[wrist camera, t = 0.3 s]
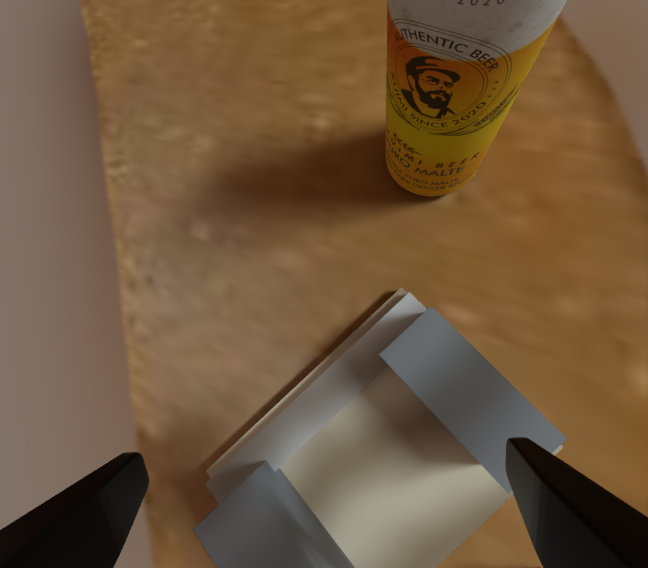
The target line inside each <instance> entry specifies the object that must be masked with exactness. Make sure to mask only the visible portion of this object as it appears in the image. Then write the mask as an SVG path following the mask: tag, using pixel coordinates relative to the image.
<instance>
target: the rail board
mask: <svg viewBox="0 0 648 568" xmlns="http://www.w3.org/2000/svg"><path fill="white" fill-rule="evenodd" d="M513 437H526V438H529V439H530V440H532V441H533V442H535V443H536V444H538V445H539V446H541V447H542V448H544V449H545V450H547V451H548V452H550V453H551V454H553V455H554V456H555V455H556V454H557V453H558V452H559V451H560V450H561V449H562V448H563V446H562V445H561V444H562V443H563V442H564V441H565V440H566V439H567V438H566V437H565V436H564V435H563V434H562V433H561V432H560V431H559V430H558V429H557V428H556V427H555V426H554V425H553V424H551V423H550V422H549V421H548V420H547V419H546V418H545V417H544V416H543V415H542V414H541V413H540V412H539V411H538V410H537V409H536V408H535V407H534V406H533V405H532V404H531V403H530V402H529V401H528V400H527V399H526V398H525V397H524V396H523V395H522V394H521V393H520V392H519V391H518V390H517V389H516V388H515V387H514V386H513V385H512V384H511V383H510V382H509V381H508V380H507V379H505V378H504V377H503V376H502V375H501V374H500V373H499V372H498V371H497V370H496V369H495V368H494V367H493V366H492V365H491V364H490V363H489V362H488V361H487V360H486V359H485V358H484V357H483V356H482V355H481V354H480V353H479V352H478V351H477V350H476V349H475V348H474V347H473V346H472V345H471V344H470V343H469V342H468V341H467V340H466V339H465V338H464V337H463V336H462V335H461V334H459V333H458V332H457V331H456V330H455V329H454V328H453V327H452V326H451V325H450V324H449V323H448V322H447V321H446V320H445V319H444V318H443V317H442V316H441V315H440V314H439V313H438V312H437V311H436V310H435V309H434V308H433V307H432V306H430V307H429V308H428V309H426V308H425V307H424V306H423V305H422V304H421V303H420V302H419V301H418V300H417V299H416V298H415V297H414V296H413V295H412V294H411V293H410V292H409V293H407V292H406V291H405V290H404V289H403V288H402V287H401V288H400V289H399V290H398V291H397V292H396V293H395V294H394V295H393V296H392V297H390V298H389V299H388V300H387V301H386V302H385V303H384V304H383V305H382V306H381V307H380V308H379V309H378V310H377V311H376V312H374V313H373V314H372V315H371V316H370V317H369V318H368V319H367V320H366V321H365V322H364V323H363V324H362V325H361V326H360V327H358V328H357V329H356V330H355V331H354V332H353V333H352V334H351V335H350V336H349V337H348V338H347V339H346V340H345V341H344V342H343V343H341V344H340V345H339V346H338V347H337V348H336V349H335V350H334V351H333V352H332V353H331V354H330V355H329V356H328V357H327V358H325V359H324V360H323V361H322V362H321V363H320V364H319V365H318V366H317V367H316V368H315V369H314V370H313V371H312V372H311V373H309V374H308V375H307V376H306V377H305V378H304V379H303V380H302V381H301V382H300V383H299V384H298V385H297V386H296V387H295V388H293V389H292V390H291V391H290V392H289V393H288V394H287V395H286V396H285V397H284V398H283V399H282V400H281V401H280V402H279V403H277V404H276V405H275V406H274V407H273V408H272V409H271V410H270V411H269V412H268V413H267V414H266V415H265V416H264V417H263V418H261V419H260V420H259V421H258V422H257V423H256V424H255V425H254V426H253V427H252V428H251V429H250V430H249V431H248V432H247V433H245V434H244V435H243V436H242V437H241V438H240V439H239V440H238V441H237V442H236V443H235V444H234V445H233V446H232V447H231V448H230V449H228V450H227V451H226V452H225V453H224V454H223V455H222V456H221V457H220V458H219V459H218V460H217V461H216V462H215V463H214V464H212V465H211V466H210V467H209V468H208V469H207V470H206V472H207V474H208V475H209V477H210V478H211V479H210V480H209V481H208V482H207V483H205V485H206V487H207V488H208V490H209V491H210V493H211V494H212V495H213V497H214V498H215V500H216V501H217V503H218V504H219V505H218V506H217V507H216V508H215V509H214V510H213V511H212V512H211V513H210V514H208V515H207V516H206V517H205V518H204V519H203V520H202V521H201V522H200V523H199V524H198V525H197V526H196V527H195V528H194V529H193V531H194V532H195V534H196V536H197V537H198V539H199V540H200V542H201V543H202V545H203V546H204V548H205V549H206V551H207V552H208V554H209V556H210V557H211V559H212V560H213V562H214V563H215V565H216V566H217V568H436V567H437V566H438V565H439V564H440V563H441V562H442V561H443V560H444V559H445V558H447V557H448V556H449V555H450V554H451V553H452V552H453V551H454V550H455V549H456V548H457V547H458V546H459V545H460V544H461V543H462V542H464V541H465V540H466V539H467V538H468V537H469V536H470V535H471V534H472V533H473V532H474V531H475V530H476V529H477V528H478V527H479V526H481V525H482V524H483V523H484V522H485V521H486V520H487V519H488V518H489V517H490V516H491V515H492V514H493V513H494V512H495V511H496V510H498V509H499V508H500V507H501V506H502V505H503V504H504V503H505V502H506V501H507V500H508V499H509V498H510V497H511V496H512V495H513V491H512V488H511V486H510V483H509V480H508V478H507V474H506V468H505V463H506V442H507V439H509V438H513Z"/></svg>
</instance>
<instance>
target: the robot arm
mask: <svg viewBox="0 0 648 568" xmlns="http://www.w3.org/2000/svg"><path fill="white" fill-rule="evenodd" d="M505 468H506V474H507V478H508V480H509V483H510V486H511V488H512V491H513V494H514V496H515V499H516V502H517V504H518V507H519V509H520V512H521V515H522V517H523V520H524V523H525V525H526V528H527V530H528V533H529V536H530V538H531V541H532V543H533V546H534V548H535V551H536V553H537V555H538V557H539V559H540V562H541V564H542V566H543V568H648V517H647V516H645V515H643V514H642V513H640V512H639V511H637V510H636V509H634V508H633V507H631V506H630V505H628V504H627V503H625V502H624V501H622V500H621V499H619V498H618V497H616V496H615V495H613V494H612V493H610V492H609V491H607V490H606V489H604V488H603V487H601V486H600V485H598V484H597V483H595V482H594V481H592V480H591V479H589V478H588V477H586V476H585V475H583V474H582V473H580V472H579V471H577V470H576V469H574V468H573V467H571V466H570V465H568V464H567V463H565V462H563V461H562V460H560V459H559V458H557V457H556V456H554V455H553V454H551V453H550V452H548V451H547V450H545V449H544V448H542V447H541V446H539V445H538V444H536V443H535V442H533V441H532V440H530V439H529V438H526V437H513V438H509V439H507V442H506V463H505ZM148 485H149V476H148V473H147V470H146V466H145V463H144V460H143V457H142V455H141V454H140V453H138V452H129V453H128V452H127V453H123V454H121V455H119V456H117V457H116V458H114V459H113V460H111V461H109V462H108V463H107V464H105V465H103V466H102V467H100V468H98V469H97V470H95V471H93V472H92V473H91V474H89V475H87V476H86V477H84V478H82V479H81V480H79V481H78V482H76V483H75V484H73V485H71V486H70V487H68V488H66V489H65V490H64V491H62V492H60V493H59V494H57V495H55V496H54V497H52V498H51V499H49V500H47V501H46V502H44V503H43V504H41V505H39V506H38V507H36V508H35V509H33V510H31V511H30V512H28V513H27V514H25V515H24V516H22V517H20V518H19V519H17V520H16V521H14V522H12V523H11V524H9V525H8V526H6V527H5V528H3V529H1V530H0V568H113V567H114V565H115V563H116V561H117V559H118V557H119V555H120V553H121V550H122V548H123V546H124V544H125V541H126V539H127V537H128V534H129V531H130V529H131V527H132V525H133V522H134V520H135V517H136V515H137V513H138V510H139V508H140V505H141V503H142V501H143V498H144V496H145V493H146V491H147V488H148Z"/></svg>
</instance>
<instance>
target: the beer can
mask: <svg viewBox="0 0 648 568" xmlns="http://www.w3.org/2000/svg"><path fill="white" fill-rule="evenodd" d="M566 1H567V0H387V83H386V163H387V167H388V170H389V172H390V174H391V176H392V177H393V179H394V180H395V181H396V182H397V183H398V184H399V185H400V186H401V187H403V188H404V189H406V190H408V191H410V192H412V193H415V194H418V195H422V196H441V195H446V194H449V193H452V192H454V191H456V190H458V189H460V188H461V187H463V186H464V185H465V184H467V183H468V182H469V181H470V180H471V179H472V178H473V176H474V175H475V173H476V172H477V170H478V168H479V166H480V164H481V162H482V160H483V159H484V157H485V155H486V153H487V151H488V149H489V147H490V145H491V143H492V141H493V140H494V138H495V136H496V134H497V132H498V130H499V128H500V126H501V124H502V122H503V121H504V119H505V117H506V115H507V113H508V111H509V109H510V107H511V105H512V103H513V102H514V100H515V98H516V96H517V94H518V92H519V90H520V88H521V86H522V84H523V83H524V81H525V79H526V77H527V75H528V73H529V71H530V69H531V67H532V65H533V64H534V62H535V60H536V58H537V56H538V54H539V52H540V50H541V48H542V46H543V45H544V43H545V41H546V39H547V37H548V35H549V33H550V31H551V29H552V27H553V26H554V24H555V22H556V20H557V18H558V16H559V14H560V12H561V10H562V8H563V7H564V5H565V3H566Z"/></svg>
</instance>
